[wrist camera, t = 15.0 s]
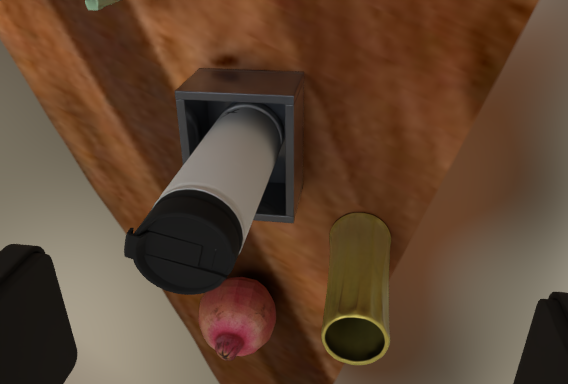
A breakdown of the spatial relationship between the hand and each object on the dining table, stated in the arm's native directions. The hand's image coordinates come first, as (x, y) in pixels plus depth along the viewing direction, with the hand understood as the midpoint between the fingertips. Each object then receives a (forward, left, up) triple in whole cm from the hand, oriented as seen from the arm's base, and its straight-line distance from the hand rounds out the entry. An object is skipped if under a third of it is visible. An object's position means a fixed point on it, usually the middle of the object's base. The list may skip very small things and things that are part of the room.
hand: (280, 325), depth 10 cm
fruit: (+30, -10, -36) cm, 48 cm away
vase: (+22, +2, -36) cm, 43 cm away
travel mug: (+11, -9, -36) cm, 39 cm away
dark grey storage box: (+11, -8, -36) cm, 39 cm away
